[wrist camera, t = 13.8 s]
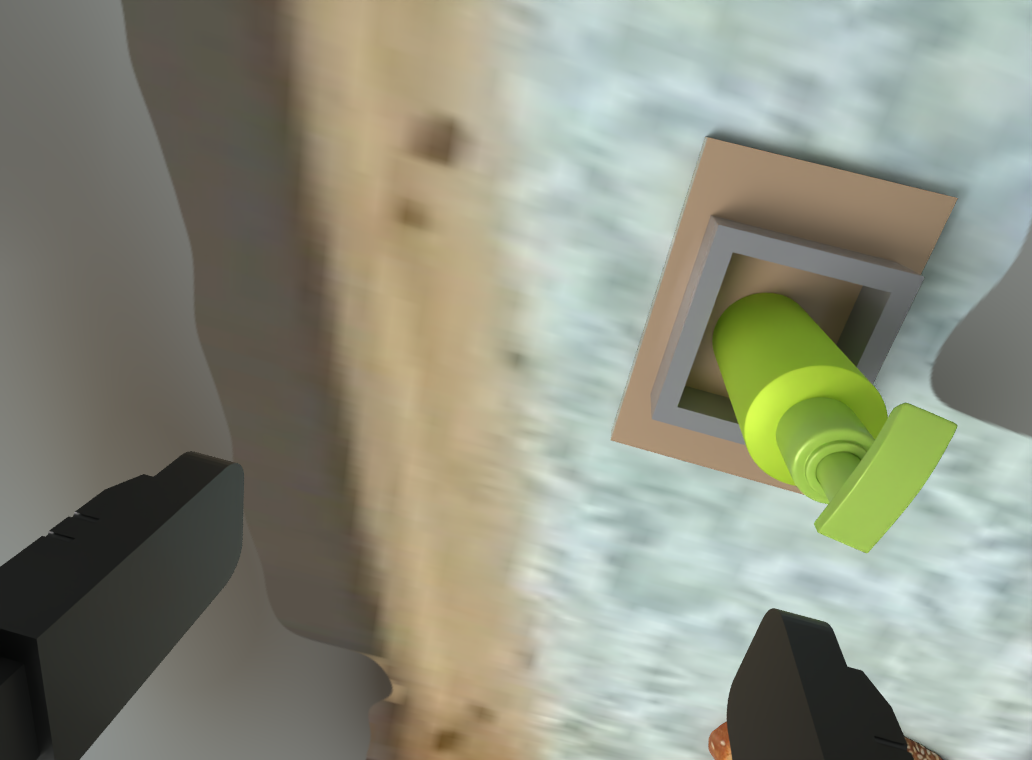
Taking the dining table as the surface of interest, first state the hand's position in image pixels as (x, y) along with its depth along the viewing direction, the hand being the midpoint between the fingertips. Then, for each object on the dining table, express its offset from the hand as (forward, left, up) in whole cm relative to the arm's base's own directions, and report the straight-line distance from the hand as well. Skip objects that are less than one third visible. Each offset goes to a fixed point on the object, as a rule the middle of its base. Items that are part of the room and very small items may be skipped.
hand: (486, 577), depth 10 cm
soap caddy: (+3, +11, -34) cm, 36 cm away
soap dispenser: (+3, +11, -33) cm, 35 cm away
